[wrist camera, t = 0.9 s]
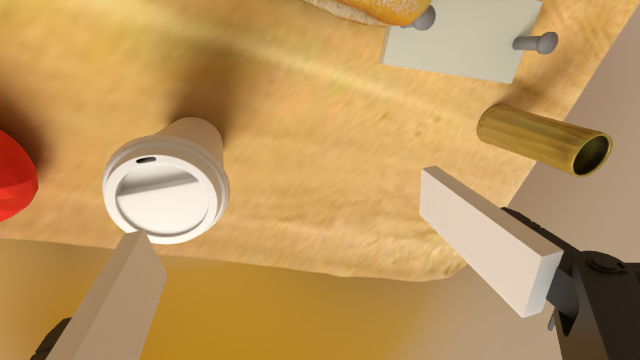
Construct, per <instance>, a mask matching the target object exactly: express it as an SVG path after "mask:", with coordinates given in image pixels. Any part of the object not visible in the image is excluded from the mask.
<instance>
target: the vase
mask: <svg viewBox="0 0 640 360" xmlns="http://www.w3.org/2000/svg"><path fill="white" fill-rule="evenodd" d="M477 133H478V137H479V138H480V140H481V141H482V142H485V143H487V144H491V145H494V146H497V147H500V148H503V149H506V150H508V151H511V152H514V153H517V154H520V155H522V156H525V157H528V158H530V159H533V160H536V161H539V162H541V163H544V164H546V165H549V166H551V167H554V168H556V169H559V170H561V171H564V172H566V173H569V174H571V175H573V176H575V177H586V176H588V175H590V174H592V173H594V172H595V171H597V170H598V169H599V168H600V167H601V166H602V165H603V164H604V162H605V161H606V160H607V159H608V156H609V155H610V153H611V150H612V146H613V142H612V139H611V137H610V136H609V135H607V134H606V133H603V132H599V131H595V130H591V129H586V128H583V127H579V126H576V125H572V124H569V123H565V122H561V121H558V120H554V119H551V118H547V117H543V116H539V115H535V114H532V113H529V112H526V111H522V110H517V109H513V108H511V107H509V106H507V105H504V104H499V105H496V106H493V107H491V108H490V109H488V110H487V111H486V112H485V113H484V114H483V116H482V117H481V119H480V121H479V124H478V128H477Z"/></svg>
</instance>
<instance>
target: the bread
mask: <svg viewBox="0 0 640 360" xmlns="http://www.w3.org/2000/svg"><path fill="white" fill-rule="evenodd" d="M301 1H302V2H303V3H309V4H311V5H312V6H314V7H316V8H319V9H321V10H324V11H326V12H328V13H330V14H332V15H334V16H336V17H338V18H341V19H345V20H349V21H353V22H356V23H360V24H364V25H370V26H377V27H389V26H406V25H409V24H410V23H412V22H413V21H415V20H416V19H418V18H419V17H420V16H421V15H422V13H423V12H424V11H425V10H426V9H427V8H428V7H429V5H430V3H431V1H432V0H301Z"/></svg>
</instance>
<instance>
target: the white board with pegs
mask: <svg viewBox="0 0 640 360" xmlns="http://www.w3.org/2000/svg"><path fill="white" fill-rule="evenodd" d="M542 4H543V2H541V1H537V0H432V1H431V3H430V5H429V7H428V8H427V9H426V10H425V11H424V12H423V13H422V15H421V16H420V17H419V18H418V19H416V20H415V21H413V22H412V23H410V24H409V25H406V26H389V27H386V32H385V37H384V42H383V47H382V51H381V56H380V61H379V64H384V65H391V66H398V67H404V68H411V69H417V70H424V71H430V72H437V73H443V74H450V75H457V76H463V77H470V78H476V79H483V80H489V81H496V82H502V83H509V84H511V83H512V81H513V78H514V76H515V73H516V70H517V68H518V65H519V63H520V60H521V58H522V55H523V53H524V50H537V52H538V53H539V54H549V53H551V52H552V51H553V50H554V49H555V47H556V45H557V43H558V35H557V34H556V33H555V32H547V33H544V34H543V35H542V36H530V35H531V32H532V30H533V27H534V24H535V22H536V19H537V17H538V14H539V12H540V9H541V7H542Z"/></svg>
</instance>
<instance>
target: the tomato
mask: <svg viewBox="0 0 640 360" xmlns="http://www.w3.org/2000/svg"><path fill="white" fill-rule="evenodd" d="M37 190H38V180H37V172H36V168H35V166H34V164H33V163H32V161H31V159H30V157H29V156H28V154H27V153H26V152H25V151H24V149H23V148H22V147H21V146H20V145H19V144H18V143H17V141H16V140H14V139H13V138H11V137H10V136H9V135H7V134H6V133H4V132H3V131H1V130H0V222H2V221H4V220H6V219H8V218H10V217H12V216H14V215H15V214H17V213H18V212H20V211H21V210H23V209H24V208H25V207H27V206H28V205H29V203H30V202H31V201H32V200H33V198H34V196H35V194H36V192H37Z"/></svg>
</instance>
